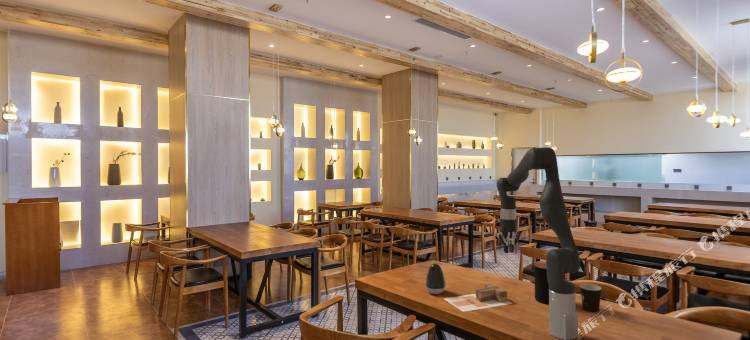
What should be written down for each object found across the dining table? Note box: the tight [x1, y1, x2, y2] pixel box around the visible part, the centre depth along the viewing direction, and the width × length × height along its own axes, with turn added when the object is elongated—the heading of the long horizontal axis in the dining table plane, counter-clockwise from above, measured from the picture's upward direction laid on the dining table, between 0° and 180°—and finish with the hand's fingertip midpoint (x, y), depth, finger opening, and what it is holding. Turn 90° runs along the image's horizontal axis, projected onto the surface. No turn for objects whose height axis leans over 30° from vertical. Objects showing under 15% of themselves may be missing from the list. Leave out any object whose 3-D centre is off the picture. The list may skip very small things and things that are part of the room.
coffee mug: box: [579, 283, 603, 313], centre depth 176 cm, size 12×9×10 cm
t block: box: [475, 283, 508, 303], centre depth 189 cm, size 12×12×5 cm
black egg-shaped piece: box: [425, 263, 446, 295], centre depth 201 cm, size 10×10×15 cm
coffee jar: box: [533, 260, 549, 306], centre depth 186 cm, size 11×11×18 cm
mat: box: [443, 293, 514, 313], centre depth 187 cm, size 18×27×1 cm, turn 109°
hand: (508, 252), depth 193 cm, fingers open, 2 cm apart
